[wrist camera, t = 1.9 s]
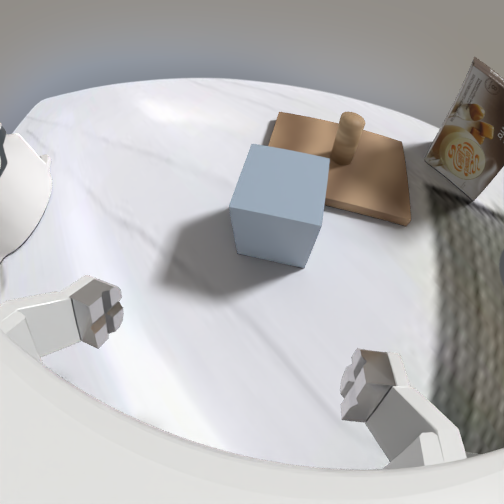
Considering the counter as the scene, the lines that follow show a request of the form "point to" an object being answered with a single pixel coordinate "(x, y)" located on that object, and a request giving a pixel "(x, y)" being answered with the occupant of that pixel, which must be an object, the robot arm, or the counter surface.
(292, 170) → the pale blue cube
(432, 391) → the counter surface
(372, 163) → the post base
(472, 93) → the coffee box
